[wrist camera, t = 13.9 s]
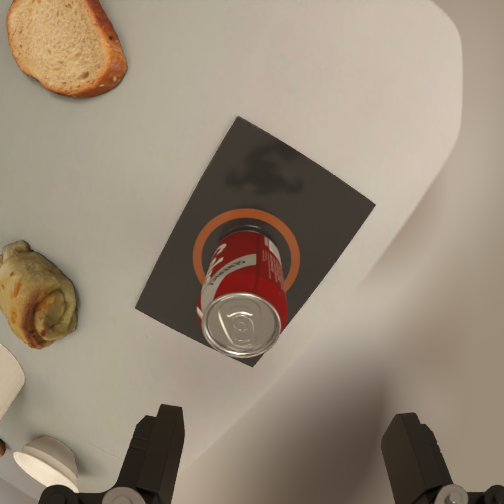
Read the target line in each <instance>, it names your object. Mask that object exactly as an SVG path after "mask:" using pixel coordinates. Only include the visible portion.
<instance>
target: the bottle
mask: <svg viewBox="0 0 504 504" xmlns="http://www.w3.org/2000/svg"><path fill="white" fill-rule="evenodd" d="M24 383H25V376H24V373H23V370H22V368H21V366H20V364H19V363H18V361H17V360H16V359H15V357H14V356H13V355H12V354H11V353H10V352H9V351H8V349H6V348H5V347H4V346H3V345H2V344H0V420H1V419H2V417H3V416H4V414H5V412H6V411H7V409H8V408H9V406H10V405H11V403H12V402H13V400H14V399H15V397H16V396H17V394H18V393H19V391H20V390H21V388H22V387H23V385H24Z"/></svg>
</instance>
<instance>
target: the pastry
mask: <svg viewBox="0 0 504 504" xmlns="http://www.w3.org/2000/svg"><path fill="white" fill-rule="evenodd" d="M0 309H1V310H2V313H3V314H4V315H5V316H6V318H7V319H8V324H9V325H10V328H11V330H12V331H13V332H14V334H15V335H16V336H17V337H18V338H20V339H21V340H22V341H23V342H24V343H25V344H28V345H29V346H30V347H31V348H36V349H42V348H44V347H48V346H50V345H51V344H52V343H54V341H56V340H57V339H62V338H64V337H65V336H66V335H67V334H69V333H71V332H72V331H74V330H75V324H76V322H77V320H76V318H77V315H76V314H75V313H76V311H77V308H76V299H75V292H74V287H73V285H72V283H71V281H70V280H69V279H68V278H67V277H65V275H64V274H63V273H62V272H61V271H60V270H59V269H58V268H57V266H55V265H54V264H53V263H52V262H50V261H49V260H47V259H45V258H44V257H43V256H41V255H40V254H38V253H35V252H33V250H29V246H28V244H26V243H25V242H24V241H18V242H15V243H12V244H9V245H7V246H5V247H4V249H3V251H2V254H1V255H0Z"/></svg>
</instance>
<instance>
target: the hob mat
mask: <svg viewBox="0 0 504 504" xmlns="http://www.w3.org/2000/svg"><path fill="white" fill-rule="evenodd" d="M375 205H376V204H374V203H373V202H372V201H370V200H369V199H367V198H366V197H365V196H363V195H362V194H360V193H359V192H358V191H356V190H355V189H353V188H352V187H351V186H349V185H348V184H346V183H345V182H343V181H342V180H340V179H339V178H338V177H336V176H335V175H333V174H332V173H330V172H329V171H327V170H326V169H324V168H323V167H321V166H320V165H318V164H317V163H315V162H314V161H312V160H310V159H309V158H307V157H306V156H304V155H303V154H301V153H300V152H298V151H296V150H295V149H293V148H292V147H290V146H288V145H287V144H285V143H284V142H282V141H280V140H279V139H277V138H275V137H274V136H272V135H270V134H269V133H267V132H265V131H264V130H262V129H260V128H258V127H257V126H255V125H253V124H252V123H250V122H248V121H246V120H245V119H243V118H241V117H239V116H238V117H237V118H236V120H235V121H234V123H233V125H232V126H231V128H230V130H229V131H228V133H227V135H226V136H225V138H224V140H223V141H222V143H221V145H220V146H219V148H218V150H217V151H216V153H215V155H214V157H213V158H212V160H211V162H210V164H209V165H208V167H207V169H206V171H205V172H204V174H203V176H202V178H201V179H200V181H199V183H198V185H197V187H196V188H195V190H194V192H193V194H192V196H191V198H190V199H189V201H188V203H187V205H186V207H185V209H184V210H183V212H182V214H181V216H180V218H179V220H178V222H177V224H176V226H175V227H174V229H173V231H172V233H171V235H170V237H169V239H168V241H167V243H166V245H165V247H164V249H163V251H162V253H161V255H160V257H159V259H158V261H157V263H156V265H155V267H154V269H153V271H152V273H151V275H150V277H149V279H148V281H147V284H146V286H145V288H144V290H143V292H142V294H141V296H140V298H139V301H138V303H137V305H136V307H135V309H137V310H139V311H141V312H142V313H144V314H146V315H148V316H150V317H152V318H153V319H155V320H157V321H159V322H161V323H163V324H165V325H166V326H168V327H170V328H172V329H174V330H176V331H178V332H180V333H182V334H184V335H186V336H188V337H190V338H192V339H194V340H196V341H198V342H200V343H202V344H204V345H206V346H208V347H210V348H212V349H214V348H213V347H212V346H211V345H210V344H209V343H208V342H207V340H206V339H205V337H204V334H203V331H202V327H201V325H200V323H199V320H198V316H197V304H198V300H199V296H200V293H201V290H202V287H203V284H204V281H205V278H206V275H207V272H208V269H209V266H210V263H211V260H212V257H213V254H214V251H215V249H216V247H217V245H218V244H219V243H220V241H221V240H222V239H224V238H225V237H226V236H228V235H230V234H232V233H234V232H238V231H245V230H248V231H255V232H258V233H261V234H263V235H265V236H266V237H268V238H269V239H270V240H271V241H272V242H273V243H274V244H275V246H276V247H277V249H278V251H279V254H280V259H281V266H282V272H283V279H284V286H285V292H286V299H287V306H288V318H287V322H286V325H285V327H286V326H287V325H288V324H289V322H290V321H291V320H292V319H293V317H294V316H295V315H296V314H297V312H298V311H299V310H300V308H301V307H302V306H303V305H304V303H305V302H306V301H307V299H308V298H309V297H310V295H311V294H312V293H313V292H314V290H315V289H316V288H317V286H318V285H319V284H320V282H321V281H322V280H323V278H324V277H325V276H326V274H327V273H328V272H329V270H330V269H331V268H332V266H333V265H334V263H335V262H336V261H337V259H338V258H339V257H340V255H341V254H342V252H343V251H344V250H345V248H346V247H347V246H348V244H349V243H350V241H351V240H352V239H353V237H354V236H355V234H356V233H357V231H358V230H359V229H360V227H361V226H362V224H363V223H364V221H365V220H366V219H367V217H368V216H369V214H370V213H371V211H372V210H373V208H374V207H375ZM285 327H284V329H285ZM284 329H283V330H284ZM283 330H282V331H283ZM280 334H281V333H280ZM214 350H216V349H214ZM216 351H217V350H216ZM218 352H219V351H218ZM264 353H265V352H264ZM264 353H263V354H264ZM263 354H260V355H258V356H254V357H250V358H236V357H231V356H229V357H231V358H233V359H235V360H237V361H240V362H242V363H244V364H246V365H248V366H251V367H253V366H254V365H255V364H256V363H257V362H258V360H259V359H260V358H261V357H262V356H263Z"/></svg>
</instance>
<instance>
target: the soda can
mask: <svg viewBox="0 0 504 504" xmlns="http://www.w3.org/2000/svg"><path fill="white" fill-rule="evenodd" d="M197 316H198V320H199V323H200V325H201V327H202V331H203V334H204V337H205V339H206V340H207V342H208V343H209V344H210V345H211V346H212V347H213V348H214V349H216V350H217V351H219V352H220V353H222V354H225V355H227V356H231V357H236V358H250V357H254V356H258V355H260V354H263V353H264V352H266V351H268V350H269V349H270V348H271V347H272V346H273V345H274V344H275V343H276V341H277V340H278V338H279V335H280V333H281V332H282V330H283V329H284V327H285V325H286V322H287V318H288V306H287V299H286V292H285V286H284V279H283V272H282V266H281V259H280V254H279V251H278V249H277V247H276V246H275V244H274V243H273V242H272V241H271V240H270V239H269V238H268V237H266V236H265V235H263V234H261V233H258V232H255V231H248V230H245V231H238V232H234V233H232V234H230V235H228V236H226V237H225V238H224V239H222V240H221V241H220V243H219V244H218V245H217V247H216V249H215V251H214V254H213V257H212V260H211V263H210V266H209V269H208V272H207V275H206V278H205V281H204V284H203V287H202V290H201V293H200V296H199V300H198V304H197Z"/></svg>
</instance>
